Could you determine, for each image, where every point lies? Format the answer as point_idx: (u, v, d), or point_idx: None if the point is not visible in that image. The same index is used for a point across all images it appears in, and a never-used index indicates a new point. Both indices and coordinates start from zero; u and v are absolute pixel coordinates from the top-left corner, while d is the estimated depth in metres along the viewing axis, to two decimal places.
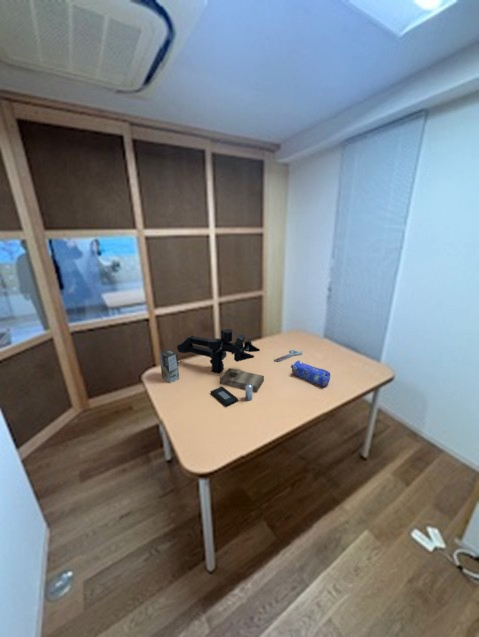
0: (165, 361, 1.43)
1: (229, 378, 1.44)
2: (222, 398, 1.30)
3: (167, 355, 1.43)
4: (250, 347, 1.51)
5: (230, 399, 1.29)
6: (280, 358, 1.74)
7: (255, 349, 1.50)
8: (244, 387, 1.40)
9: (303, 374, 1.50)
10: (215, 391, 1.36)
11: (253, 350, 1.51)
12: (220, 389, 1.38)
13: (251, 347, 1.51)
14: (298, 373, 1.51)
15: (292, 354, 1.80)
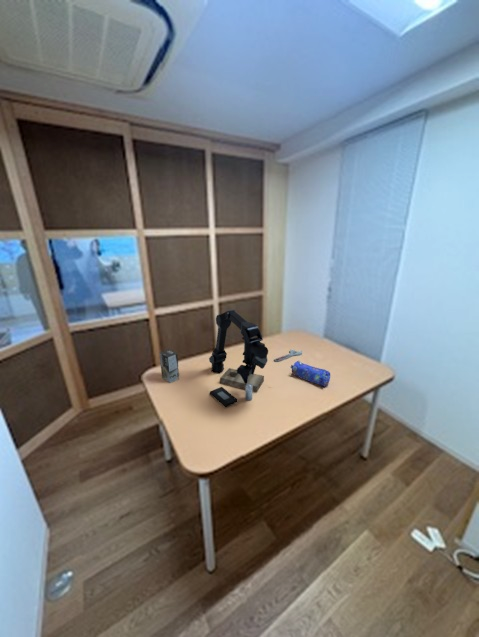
0: (165, 361, 1.43)
1: (229, 378, 1.44)
2: (221, 398, 1.30)
3: (167, 355, 1.43)
4: (253, 363, 1.31)
5: (230, 400, 1.29)
6: (280, 358, 1.74)
7: (252, 369, 1.32)
8: (244, 387, 1.40)
9: (303, 374, 1.49)
10: (215, 391, 1.36)
11: (251, 367, 1.32)
12: (220, 389, 1.38)
13: (253, 365, 1.32)
14: (298, 373, 1.51)
15: (292, 354, 1.80)
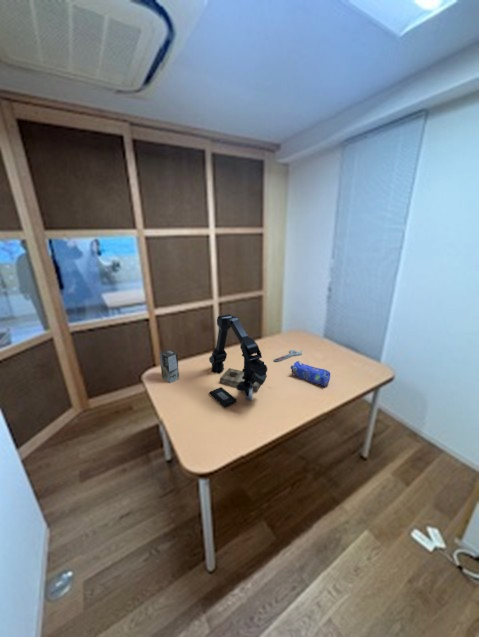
0: (165, 361, 1.43)
1: (229, 378, 1.44)
2: (221, 399, 1.30)
3: (167, 355, 1.43)
4: (251, 381, 1.32)
5: (229, 400, 1.29)
6: (279, 358, 1.74)
7: None
8: None
9: (303, 375, 1.49)
10: (214, 391, 1.36)
11: None
12: (219, 389, 1.38)
13: (251, 383, 1.32)
14: (298, 374, 1.51)
15: (292, 354, 1.79)
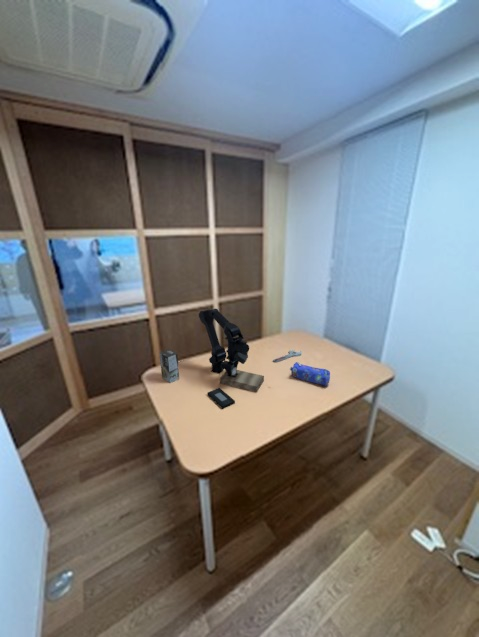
0: (165, 361, 1.43)
1: (229, 378, 1.44)
2: (219, 400, 1.29)
3: (167, 355, 1.43)
4: (236, 360, 1.50)
5: (227, 401, 1.28)
6: (279, 359, 1.73)
7: (235, 366, 1.51)
8: (244, 387, 1.40)
9: (303, 376, 1.48)
10: (212, 392, 1.35)
11: (234, 363, 1.51)
12: (217, 390, 1.37)
13: (236, 361, 1.50)
14: (298, 375, 1.49)
15: (291, 355, 1.79)
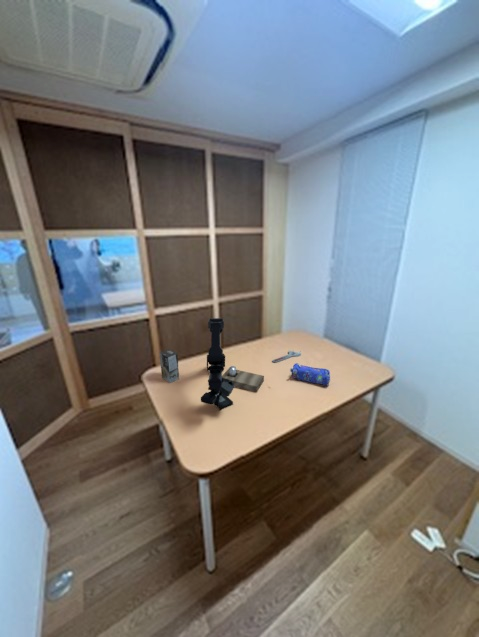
0: (165, 361, 1.43)
1: (229, 378, 1.44)
2: None
3: (167, 355, 1.43)
4: None
5: (225, 402, 1.27)
6: (278, 359, 1.72)
7: (216, 400, 1.25)
8: (244, 387, 1.40)
9: (304, 376, 1.47)
10: None
11: None
12: None
13: None
14: (298, 376, 1.48)
15: (290, 355, 1.78)
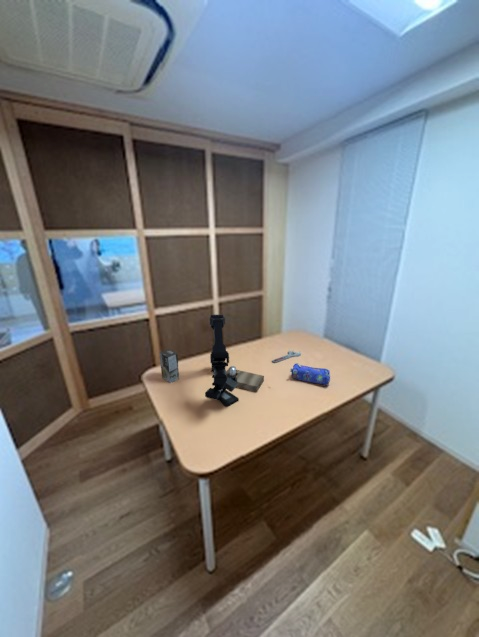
0: (165, 361, 1.43)
1: None
2: (222, 398, 1.30)
3: (167, 355, 1.43)
4: None
5: (231, 399, 1.30)
6: (278, 359, 1.72)
7: (219, 396, 1.28)
8: (244, 387, 1.40)
9: (304, 376, 1.47)
10: None
11: None
12: None
13: None
14: (299, 376, 1.48)
15: (290, 355, 1.78)
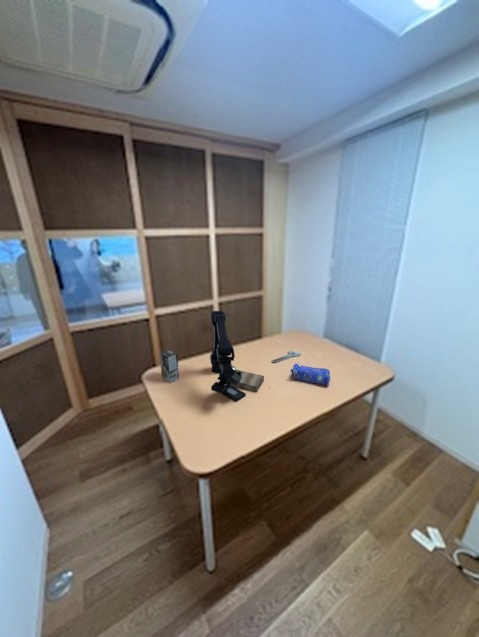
0: (165, 361, 1.43)
1: None
2: (230, 394, 1.33)
3: (167, 355, 1.43)
4: None
5: (238, 394, 1.33)
6: (277, 359, 1.72)
7: (224, 390, 1.33)
8: (244, 387, 1.40)
9: (304, 377, 1.47)
10: None
11: None
12: None
13: None
14: (299, 376, 1.48)
15: (290, 355, 1.78)
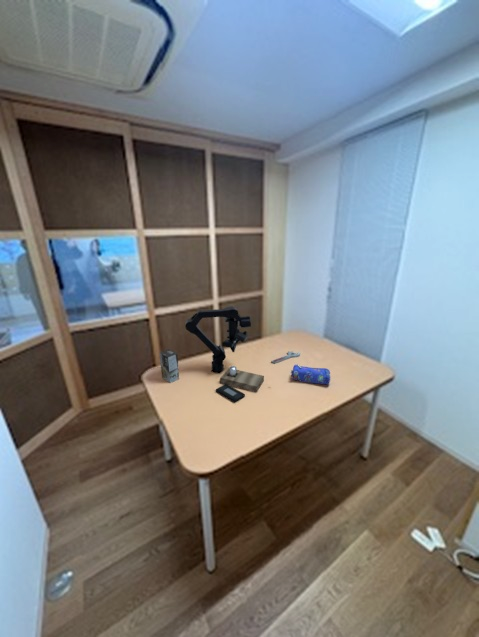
0: (165, 361, 1.43)
1: (229, 378, 1.44)
2: (229, 395, 1.33)
3: (167, 355, 1.43)
4: None
5: (238, 395, 1.33)
6: (277, 360, 1.72)
7: None
8: (244, 387, 1.40)
9: (305, 377, 1.46)
10: (220, 388, 1.38)
11: None
12: (225, 386, 1.41)
13: None
14: (299, 377, 1.47)
15: (289, 356, 1.77)
